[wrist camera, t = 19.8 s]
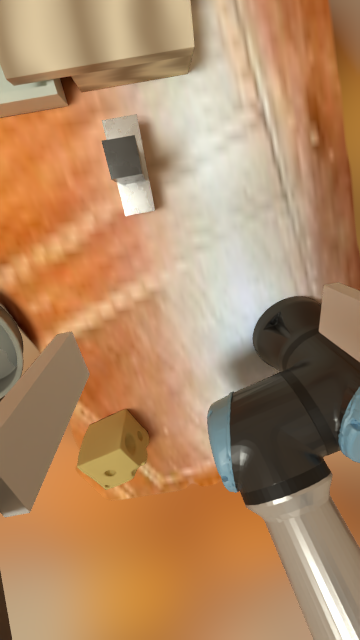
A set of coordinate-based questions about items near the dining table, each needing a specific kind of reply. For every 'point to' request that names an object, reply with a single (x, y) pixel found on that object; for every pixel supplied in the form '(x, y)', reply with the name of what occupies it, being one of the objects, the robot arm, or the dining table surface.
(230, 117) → the dining table surface
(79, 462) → the cheese
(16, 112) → the box
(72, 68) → the ledge
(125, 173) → the scraper
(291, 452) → the robot arm
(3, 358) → the cake pan
